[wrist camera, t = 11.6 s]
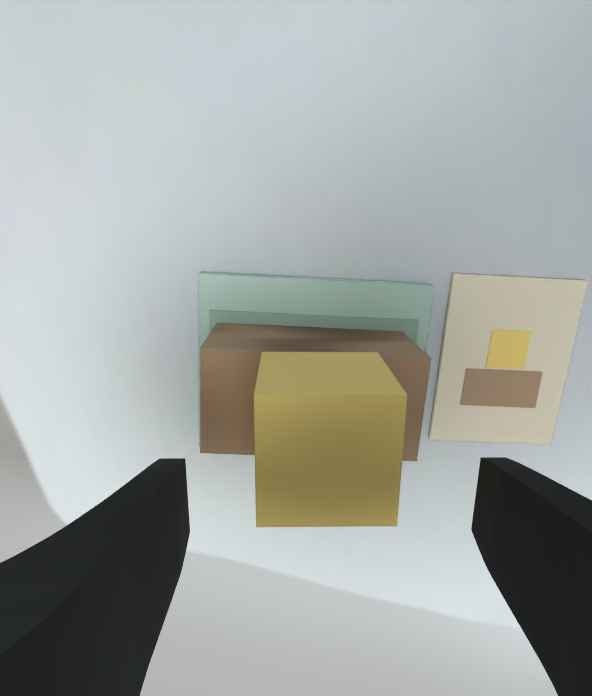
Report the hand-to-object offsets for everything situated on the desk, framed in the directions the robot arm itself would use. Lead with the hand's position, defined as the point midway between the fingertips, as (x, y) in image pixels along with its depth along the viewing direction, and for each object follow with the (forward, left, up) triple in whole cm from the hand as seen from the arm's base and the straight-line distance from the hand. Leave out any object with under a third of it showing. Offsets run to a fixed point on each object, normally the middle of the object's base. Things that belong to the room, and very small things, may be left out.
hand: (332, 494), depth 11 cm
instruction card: (-9, 0, -10) cm, 14 cm away
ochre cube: (0, 0, -5) cm, 5 cm away
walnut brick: (0, 0, -9) cm, 9 cm away
